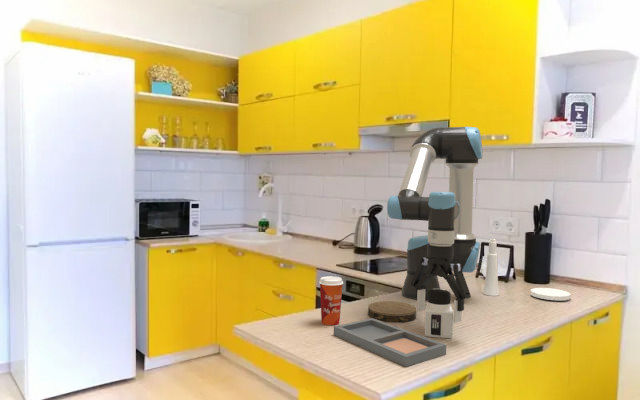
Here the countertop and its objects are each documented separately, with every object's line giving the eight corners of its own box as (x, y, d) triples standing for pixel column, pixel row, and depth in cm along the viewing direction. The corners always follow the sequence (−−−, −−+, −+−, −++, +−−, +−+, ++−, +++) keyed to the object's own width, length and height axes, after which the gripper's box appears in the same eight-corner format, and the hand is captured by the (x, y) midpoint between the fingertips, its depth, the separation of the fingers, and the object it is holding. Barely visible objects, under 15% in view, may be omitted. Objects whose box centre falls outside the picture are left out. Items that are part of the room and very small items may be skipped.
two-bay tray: (333, 334, 141) (333, 326, 141) (371, 325, 150) (372, 317, 149) (406, 367, 118) (406, 356, 118) (446, 354, 127) (446, 344, 127)
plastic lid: (578, 303, 182) (578, 296, 182) (542, 303, 181) (542, 296, 181) (557, 293, 196) (557, 287, 196) (523, 294, 195) (524, 287, 195)
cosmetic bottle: (501, 296, 190) (503, 240, 189) (485, 295, 190) (487, 240, 189) (496, 292, 196) (498, 238, 195) (481, 292, 196) (482, 238, 195)
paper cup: (325, 327, 147) (326, 282, 146) (314, 320, 154) (314, 277, 153) (347, 324, 151) (348, 279, 150) (335, 317, 158) (336, 275, 157)
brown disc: (362, 320, 157) (362, 310, 157) (374, 307, 172) (374, 299, 171) (412, 326, 151) (412, 316, 151) (419, 312, 166) (420, 304, 166)
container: (452, 339, 139) (453, 294, 138) (424, 336, 140) (426, 292, 140) (450, 330, 146) (452, 288, 146) (424, 328, 148) (425, 286, 147)
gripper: (400, 240, 150) (398, 308, 151) (468, 250, 130) (465, 329, 131) (417, 238, 154) (415, 304, 155) (485, 248, 134) (482, 324, 135)
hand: (438, 316), depth 143 cm, fingers open, 13 cm apart
